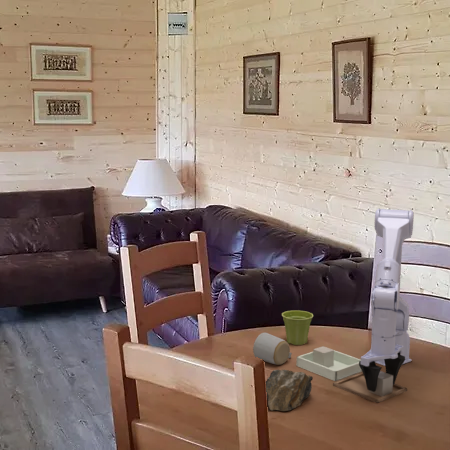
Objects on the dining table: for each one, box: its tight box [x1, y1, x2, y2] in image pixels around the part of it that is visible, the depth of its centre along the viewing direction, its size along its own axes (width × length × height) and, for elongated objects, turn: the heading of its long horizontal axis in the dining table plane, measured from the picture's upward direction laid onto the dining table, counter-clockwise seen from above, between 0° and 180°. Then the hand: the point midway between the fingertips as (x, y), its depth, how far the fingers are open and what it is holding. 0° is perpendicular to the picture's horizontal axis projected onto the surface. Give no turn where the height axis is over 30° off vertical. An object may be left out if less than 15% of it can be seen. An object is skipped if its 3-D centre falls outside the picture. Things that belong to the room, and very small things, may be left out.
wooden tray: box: [332, 372, 408, 404], centre depth 179 cm, size 12×14×1 cm
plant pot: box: [281, 310, 314, 346], centre depth 214 cm, size 9×9×9 cm
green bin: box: [295, 349, 362, 382], centre depth 192 cm, size 12×14×3 cm
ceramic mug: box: [252, 332, 293, 366], centre depth 198 cm, size 11×8×8 cm
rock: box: [265, 369, 313, 412], centre depth 172 cm, size 14×11×10 cm
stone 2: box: [369, 370, 393, 397], centre depth 176 cm, size 4×4×4 cm
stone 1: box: [312, 345, 335, 367], centre depth 194 cm, size 4×4×4 cm
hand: (381, 386), depth 176 cm, fingers open, 7 cm apart
